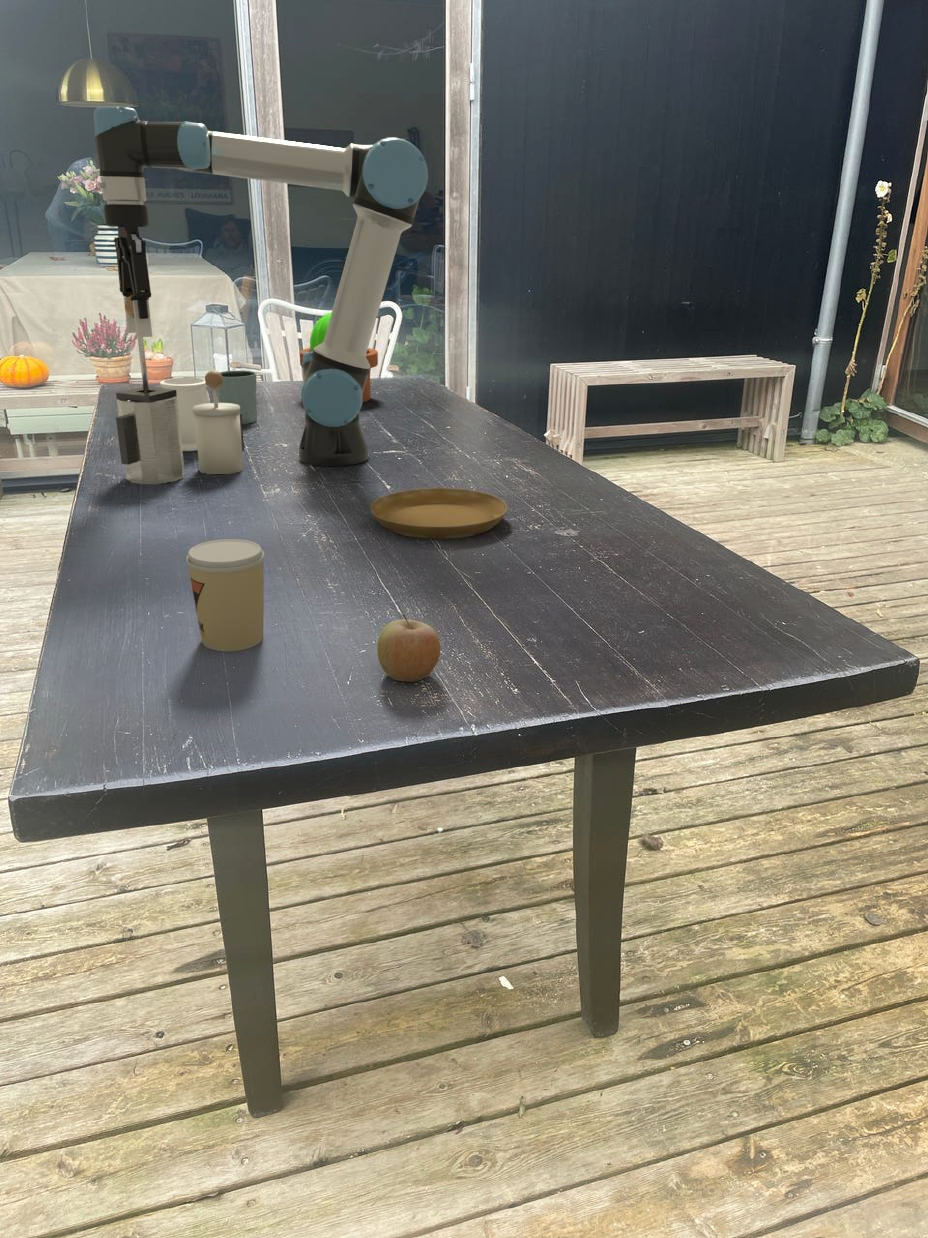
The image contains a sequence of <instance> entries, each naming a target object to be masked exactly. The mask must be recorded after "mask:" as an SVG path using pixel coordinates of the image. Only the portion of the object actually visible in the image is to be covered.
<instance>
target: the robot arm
mask: <svg viewBox="0 0 928 1238" xmlns="http://www.w3.org/2000/svg"><path fill="white" fill-rule="evenodd" d="M138 116H139V115H138V111H137V110H135V109H134V108H131V107H125V106H106V105H105V106H98V107H96V108H95V109H94V110H93V122H94V123H93V124H94V136H93V137H94V141H95V145H96V152H97V153H96V154H97V161H98V168H99V169H98V170H99V176H100V181H99V182H98V183H97V185H98V188H99V189H101V193H102V194H101V195H102V199H103V201H106V204H104V206H103V211H104V220H105V224H106V226H108V227H115V228H116V227H117V235H118V236H117V237H114V238H113V242H114V247H115V251H116V252H115V253H116V261H117V263H116V264H117V272H118V283H119V291H120V293H121V294H122V296H123V303H124V305H125V301H126V299H127V298H128V297H129V296H131V295H134V296H132V297H131V298H130V300H131V301H133V308H134V317H135V318H132V317H130V316H129V315H128V314H127V312H126V310H125V309H124V311H125V312H124V313H125V320H126V329H127V333H128V334H135V335H136V337H137V338H138V337H143V338H150V337H153V330H152V321H151V312H150V311H151V309H150V303H149V300H150V298H152V292H151V290H152V289H151V284H150V283H151V281H150V276H149V275H150V274H149V268H148V261H147V251H146V250H147V249H146V245H147V244H146V240H145V239H143V238H142V237H140V236H141V235H140V232H139V228H146V227H148V226H149V225H150V223H149V221H150V220H149V214H148V207H147V206H146V205H144V202H146V201H147V200H148V199H147V191H146V181H145V175H144V168H147V169H151V168H157V169H174V170H179V171H180V172H185V173H200V174H208V175H218V176H226V177H234V178H240V179H247V180H248V179H249V180H257V181H264V182H272V183H278V184H288V185H296V186H303V187H311V188H319V189H328V190H336V191H342V192H343V193H344V195H345V196H346V197H348V198H354V199H353V203H352V207H353V209H354V211H355V213H356V216H357V219H356V223H355V227H354V229H353V234H352V238H351V240H350V241H351V242H350V243H349V247H348V248H349V249H348V252H347V256H346V259H345V264H344V266H343V271H342V274H341V278H340V281H339V285H338V287H337V292H336V296H335V299H334V303H333V306H332V310H331V312H332V313H331V312H330V313H331V317H330V321H329V324H328V328H327V332H326V335H325V339H324V342H323V343H322V344H320V345H318V346H316V347H314V350H313V352H306V353H304V355H303V363H302V366H301V368H302V371H303V372H302V373H303V385H302V389H301V393H300V396H301V403H302V406H303V408H304V415H305V416H304V417H305V425H304V429H303V432H302V437H301V440H300V443H299V448H298V456H299V458H298V459H299V461H301V463H306V464H308V465H314V466H321V467H323V466H324V467H340V466H342V467H343V466H344V467H345V466H351V465H356V464H361V463H364V462H366V461H368V459H369V448H368V447H369V446H368V444H367V441H366V438H365V436H364V435H365V434H364V432H363V430H362V426H361V423H360V422H361V421H360V412H361V409H362V407H363V401H362V399H363V395H362V394H363V391H364V387H365V384H366V380H367V377H368V373H369V370H370V371H371V368H370V364H369V362H368V360H367V358H366V353H367V349H368V348H369V347H370V346H369V345H370V342H371V338H372V334H373V331H374V329H375V326H376V321H377V318H378V314H379V310H380V307H381V303H382V300H383V297H384V293H385V290H386V287H387V284H388V280H389V276H390V273H391V269H392V266H393V263H394V259H395V255H396V252H397V248H398V246H399V242H400V238H401V235H402V233H403V232H404V231H406V230H409V229H410V228H411V227H412V226H413V224H414V219H415V217H416V212H417V209H418V207H419V202H420V199H421V197H423V194H424V193H425V191H426V189H427V185H428V181H429V171H428V166H427V162H426V159H425V157H424V155H423V153H422V152H421V151H420V150H419V148H418V147H417V146H415V145H414V144H413V143H412V142H410V141H407V140H406V139H405V138H399V137H396V136H394V137H393V136H391V137H385V138H382V139H380V140H378V141H376V143H374V144H356V143H350V144H348V146H346V147H344V148H343V147H337V146H335V147H334V146H328V145H321V144H314V143H313V144H312V143H304V142H298V141H297V142H296V141H291V140H290V141H289V140H281V139H274V138H268V137H267V138H266V137H259V136H253V135H252V136H250V135H245V134H235V133H228V132H221V131H213V130H209V129H208V128H207V126H206V125H205V124H204V123H201V122H200V123H198V122H191V121H186V120H185V121H147V120H140V117H138Z"/></svg>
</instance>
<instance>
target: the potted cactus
mask: <svg viewBox="0 0 928 1238" xmlns="http://www.w3.org/2000/svg"><path fill="white" fill-rule="evenodd" d="M331 313H332V311H331V312H327V313H325V314H323V315H321V316H320V317H319V318H318V320H317V321H316V323H315V324H314V326H313V327H312V329H311V331H310V332H309V333H310V336H309V337H310V338H309V340H308V342H309V347H308V348H304V349H301V350H300V351H299V365H300V366H301V367H302V363H303V355H304V353H306V352H313V350H314V347H316V346H318V345H320V344H322V343H323V342H324V339H325V335H326V332H327V328H328V324H329V321H330V317H331ZM378 357H379V352H378V351H377V350H376V349H374V348H369V347H368V349H367V353H366V358H367V360H368V362H369V364H370V370H369V373H368V377H367V380H366V384H365V387H364V391H363V394H362V395H363V399H362V401H363V403H367V402H368V401H370V399H371V369H372V368H376V367H377V366H378V365H379V358H378ZM363 403H362V404H363Z"/></svg>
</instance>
